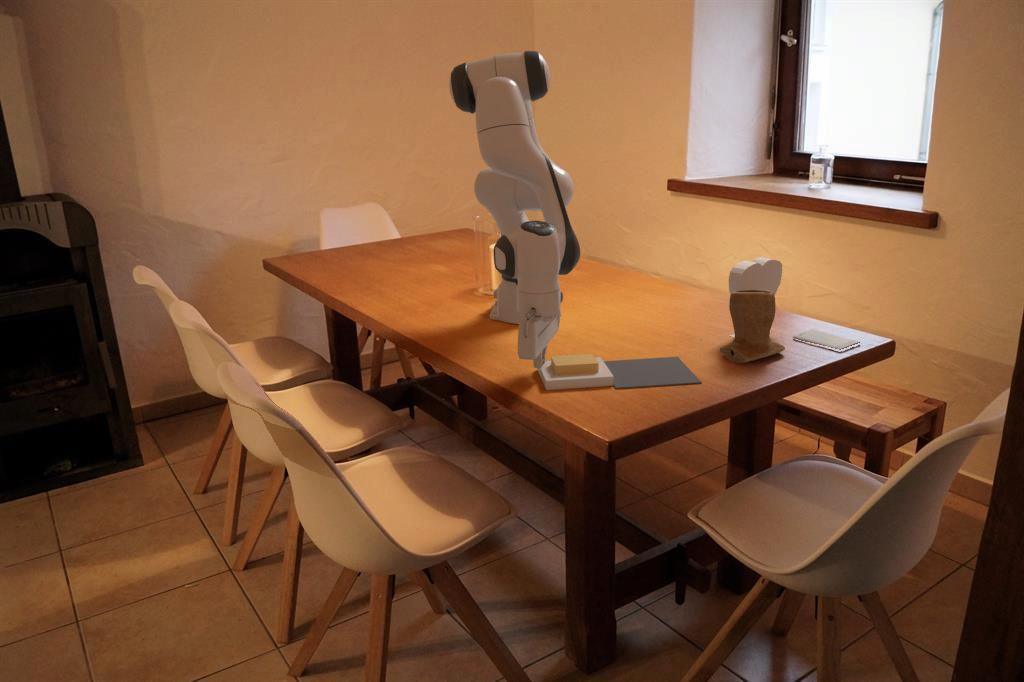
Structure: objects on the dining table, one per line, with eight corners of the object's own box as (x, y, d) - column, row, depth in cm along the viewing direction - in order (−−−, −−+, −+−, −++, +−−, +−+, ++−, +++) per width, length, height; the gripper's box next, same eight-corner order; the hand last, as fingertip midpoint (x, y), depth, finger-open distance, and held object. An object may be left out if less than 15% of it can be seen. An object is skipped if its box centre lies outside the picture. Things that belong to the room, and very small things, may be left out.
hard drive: (792, 335, 197) (840, 348, 188) (813, 328, 202) (861, 340, 192) (792, 342, 198) (839, 355, 188) (813, 335, 202) (860, 347, 193)
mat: (598, 362, 185) (598, 361, 185) (677, 357, 187) (677, 356, 187) (615, 389, 170) (615, 387, 170) (701, 383, 172) (701, 382, 172)
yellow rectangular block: (555, 374, 173) (555, 365, 172) (550, 365, 178) (550, 356, 178) (598, 372, 174) (598, 363, 173) (592, 362, 179) (592, 353, 179)
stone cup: (749, 342, 197) (754, 279, 192) (791, 355, 187) (797, 290, 182) (704, 355, 188) (708, 290, 184) (746, 369, 179) (750, 302, 174)
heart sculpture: (763, 324, 209) (768, 253, 203) (780, 329, 205) (786, 257, 200) (722, 337, 200) (726, 263, 195) (739, 342, 196) (744, 267, 191)
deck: (537, 369, 182) (537, 361, 181) (600, 365, 183) (600, 357, 183) (546, 390, 170) (546, 380, 170) (613, 385, 172) (613, 376, 171)
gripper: (540, 317, 160) (541, 384, 165) (565, 290, 179) (565, 351, 183) (508, 315, 162) (510, 382, 166) (536, 288, 181) (537, 349, 185)
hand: (539, 365), depth 175 cm, fingers closed
